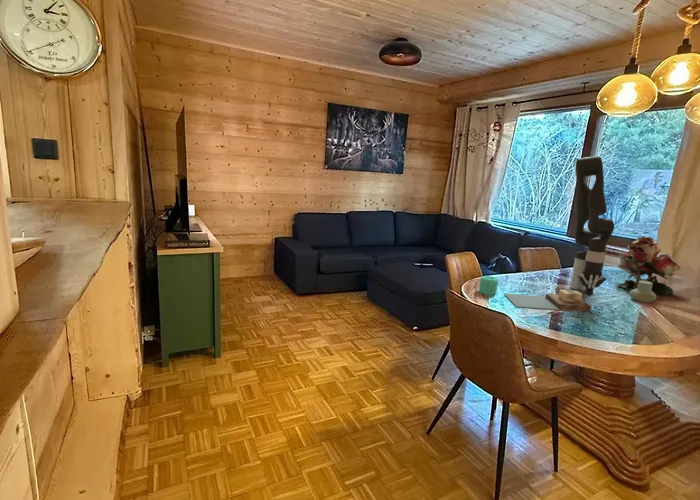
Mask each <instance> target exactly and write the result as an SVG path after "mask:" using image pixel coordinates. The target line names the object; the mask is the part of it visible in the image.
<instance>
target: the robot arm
mask: <svg viewBox="0 0 700 500" xmlns="http://www.w3.org/2000/svg"><path fill="white" fill-rule="evenodd" d="M591 176H595V181H594V183H593V186H592V188H590V187H589V186H588V184H587V182H586V180H585V177H591ZM604 177H605V176H604V163H603V160H602V157H600V156H599V155H595V156H587V157H581V158H580V157H579V158H578V159H576V162H575V181H576V197H575V199H576V200H575V202H576V203H575V205H576V208H575V209H576V210H575V211H576V212H575V215H576V222H575V223H576V225H575V233H574V234H575V235H574V236H575V237H574V242H575V244H576V245H577V246H582V247H587V250H583V251H582V250H581V251H577V252H576V253H575V256H574V262H573V267H572V275H571V280H570V286H569V287H570V288H571V289H572V290H575V291H579V292H580V291H581V292H584V294H585V295H586V296H590V297H591V296H592V295H593V293H594V289H595V288H599V287H600V286H601V285H603V283H604V282H606V280H607V278H606V277H605V276H603V272H602V271H603V270H604V269H603V268H604V263H605V257H606V251H607V250H606V249H607V244H608V242H609V240H610V238H611V237H612V234H613V233H614V229H615V222H614V221H613V220H612V219H611V218H602V217H599V216H603V215H605V214H606V213H607V211H608V209H607V204H606V197H605V181H604V180H605V178H604ZM586 223H587V229H585V225H586Z"/></svg>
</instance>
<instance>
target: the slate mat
mask: <svg viewBox="0 0 700 500" xmlns="http://www.w3.org/2000/svg"><path fill="white" fill-rule="evenodd" d="M504 296H505V297H506V298H507V299H508V300H509V301H510V302H511V303H512V304H513V305H514V307H516V308H521V309H533V310H535V309H536V310H549V311H561V309H559V308H558V307H556V306H555V305H554V304H553V303H551V302H550V301H549V300H548V299H547V298H546V296H544V295H528V294H514V293H504Z"/></svg>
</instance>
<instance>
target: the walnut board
mask: <svg viewBox="0 0 700 500" xmlns="http://www.w3.org/2000/svg"><path fill="white" fill-rule="evenodd" d="M545 298H547V299H548V300H549V301H550V302H551V303H553V304H554V305H555V306H556V307H558V308H559V309H560V310H562V311H563V310H564V311H565V310H566V311H576V312H577V311H579V312H591V309H592V308H591V307H592V306H591V305H590V304H589V303H586V302H585V301H584V300H582V301H581V302H567V301H563V300H562V299H560V298H559V293H545Z"/></svg>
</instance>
